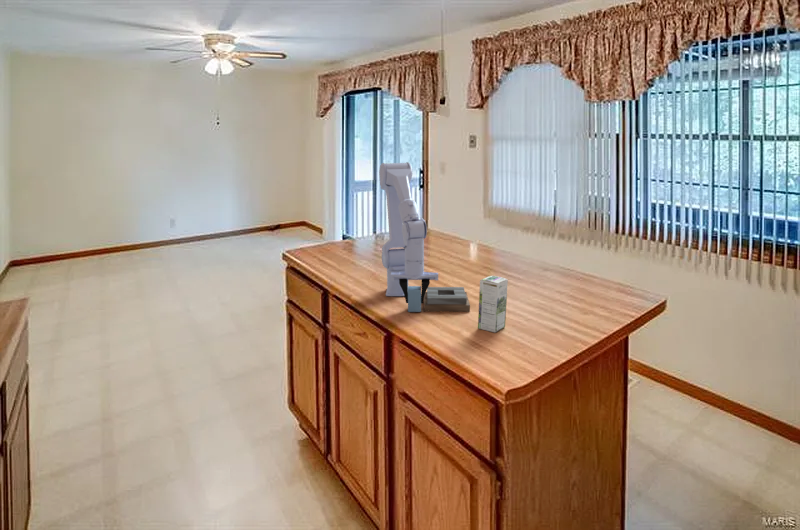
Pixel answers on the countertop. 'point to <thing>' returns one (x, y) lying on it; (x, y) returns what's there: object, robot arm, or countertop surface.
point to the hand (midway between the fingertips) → (414, 302)
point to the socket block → (446, 299)
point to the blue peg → (414, 298)
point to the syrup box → (492, 303)
